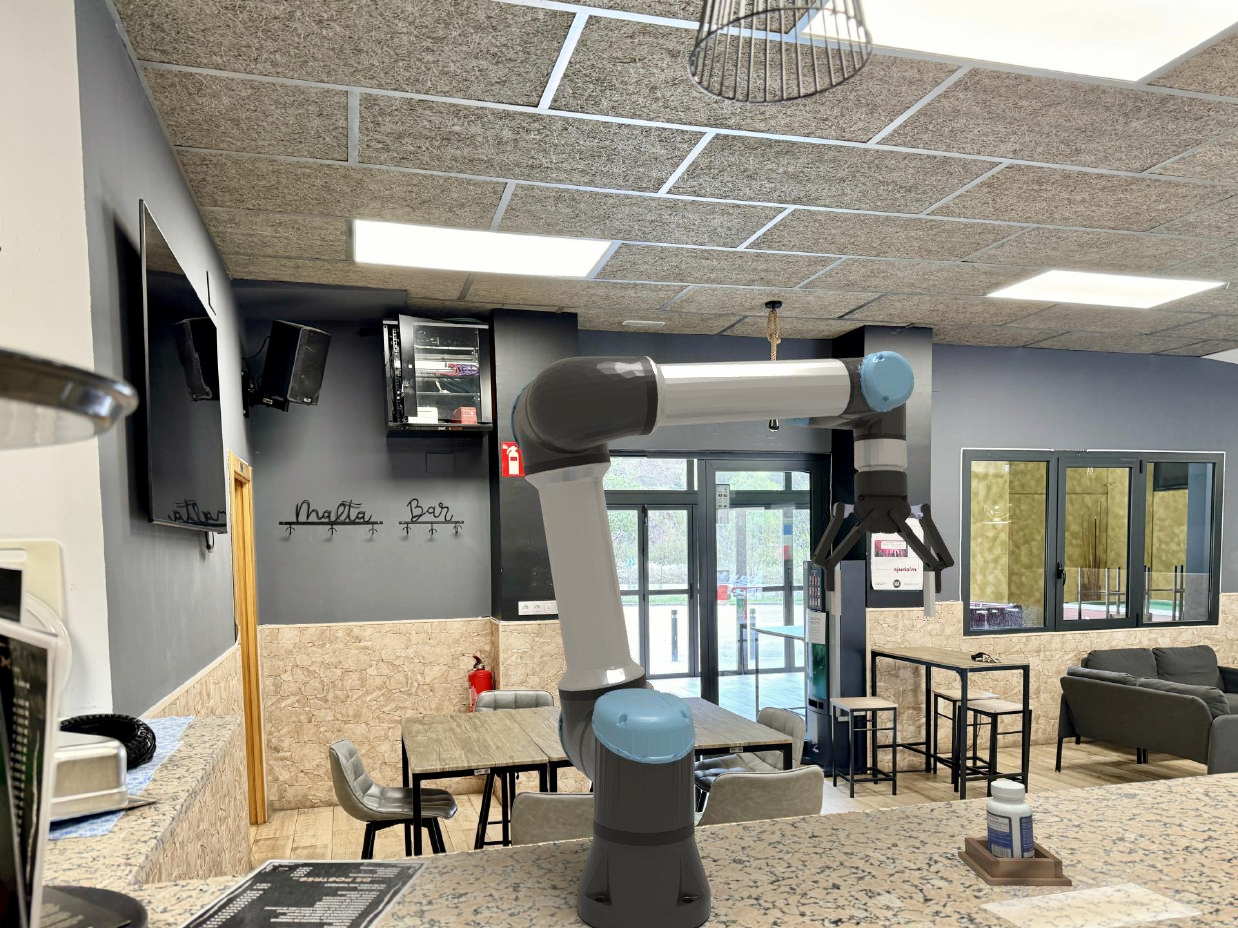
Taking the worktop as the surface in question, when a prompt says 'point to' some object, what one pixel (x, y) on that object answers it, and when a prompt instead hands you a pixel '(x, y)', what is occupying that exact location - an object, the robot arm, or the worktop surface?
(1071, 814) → the worktop surface
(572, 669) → the robot arm
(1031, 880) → the socket block
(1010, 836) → the pill bottle
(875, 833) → the worktop surface
